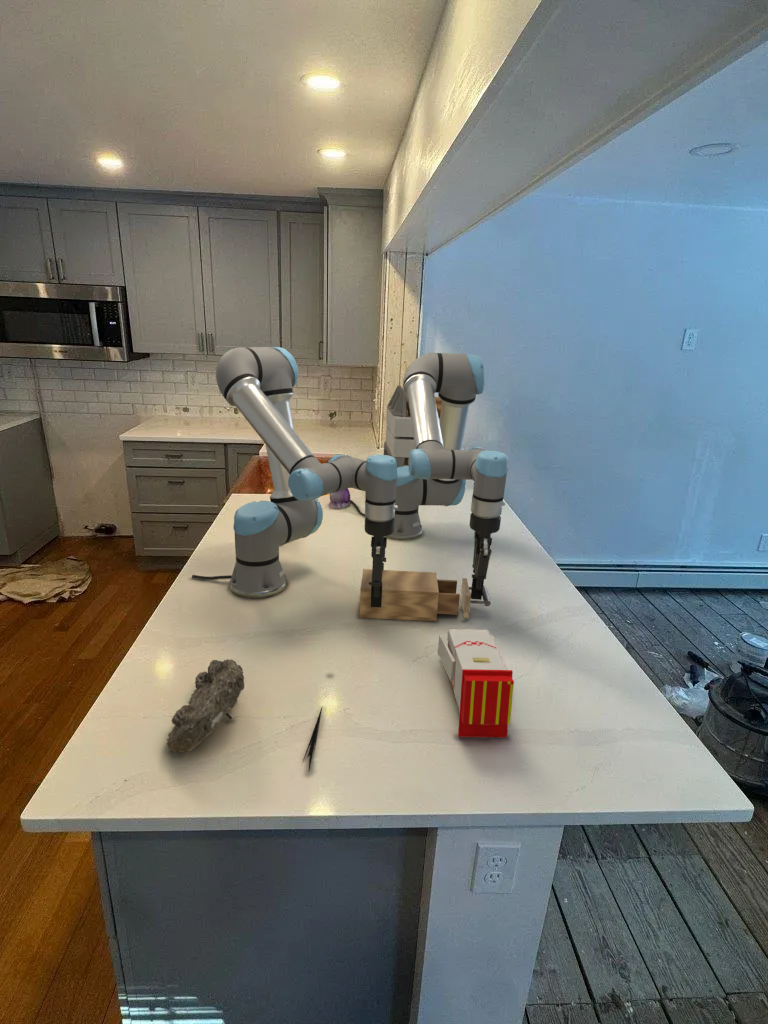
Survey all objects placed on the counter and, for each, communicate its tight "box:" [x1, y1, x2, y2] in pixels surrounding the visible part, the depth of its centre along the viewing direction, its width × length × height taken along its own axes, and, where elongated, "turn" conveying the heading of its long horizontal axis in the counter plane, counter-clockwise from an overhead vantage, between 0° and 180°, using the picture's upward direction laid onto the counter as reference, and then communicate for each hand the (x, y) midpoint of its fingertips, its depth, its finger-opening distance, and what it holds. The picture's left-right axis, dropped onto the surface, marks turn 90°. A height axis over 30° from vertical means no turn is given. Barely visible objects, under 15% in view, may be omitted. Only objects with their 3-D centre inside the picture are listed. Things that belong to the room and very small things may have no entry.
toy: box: [437, 628, 515, 738], centre depth 117 cm, size 12×13×30 cm
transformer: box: [383, 384, 442, 468], centre depth 268 cm, size 34×33×41 cm
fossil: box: [166, 658, 245, 754], centre depth 106 cm, size 22×10×15 cm
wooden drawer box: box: [359, 568, 439, 622], centre depth 149 cm, size 20×11×8 cm, turn 88°
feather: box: [301, 673, 332, 771], centre depth 108 cm, size 2×28×2 cm
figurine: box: [329, 488, 351, 509], centre depth 223 cm, size 9×10×15 cm
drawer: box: [437, 577, 492, 619], centre depth 148 cm, size 24×10×6 cm, turn 88°
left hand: (377, 595), depth 149 cm, fingers closed on wooden drawer box, 11 cm apart
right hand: (476, 598), depth 148 cm, fingers closed
